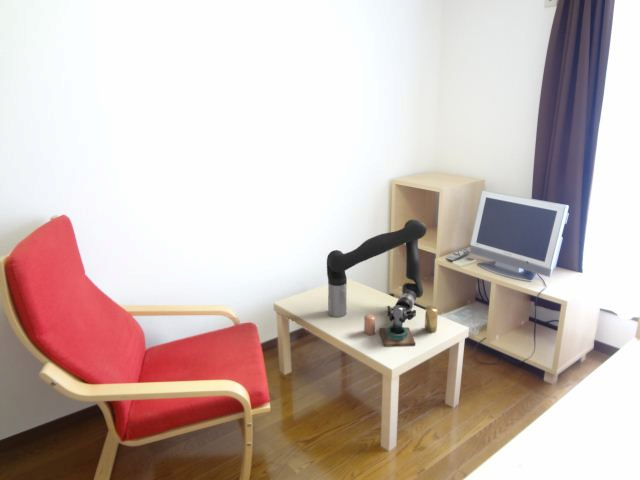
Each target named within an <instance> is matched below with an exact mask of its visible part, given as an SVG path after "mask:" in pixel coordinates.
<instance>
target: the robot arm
mask: <svg viewBox="0 0 640 480" xmlns="http://www.w3.org/2000/svg"><path fill="white" fill-rule="evenodd" d="M427 229H428V228H427V226H426V224H425V223H424V222H422V221H420V220H417V219H409V220H407V221H406V222H405V224H404V227H403V228H401V229H398V230H395V231H391V232H385V233H381V234H377V235H375V236H373V237H370V238H368V239H366V240H365V241H363V242H362V243H361V244H360V245H359V246H358V247H356V248H355V249H353V250H351V251H348V252H344V253H343V252H342V251H340V250H337V249H336V250H331V251H330V252H329V253H328V254H327V257H326V274H327V275H326V276H327V283H328V288H327V289H328V291H327V292H328V293H327V301H328V302H327V304H328V305H327V306H328V307H327V309H328V310H327V311H328V316H329V317H334V318H343V317H345V316H346V315H347V310H348V309H347V306H348V305H347V303H348V302H347V301H348V300H347V296H348V295H347V289H348V288H347V285H348V283H347V282H348V281H347V280H348V278H347V274H346V271H347V270H349V269H350V268H351V269H352V268H353V267H355V266H357V265H358V264H360V263H363V262H365V261H367V260H369V259H372V258H374V257H377V256H380V255H382V254H384V253H386V252H389V251H391V250H393V249H395V248H397V247H400V246H402V245H404V244H405V253H406V262H405V263H406V265H405V277H406V278H407V279H409V280H411V281H413V282H414V283H411V282H406V283H404V284H403V285H402V288H401V292H402V294H401V295H400V296H399V298H398V300H397V301H396V303H395V305H394V306H396V305H399V306H402V307H403V316H402V318H401V323H403V324H404V323H405V322H406V320H408V321H411V320H412V319H414V318H415V317H416V315H417V310H415V309H413V307H414V305H415V302H416V299H417V298H419V299H420V298H421V297H422V296H423V295H424V294H423V293H424V288H423V283H422V279H421V258H420V252H419V240H420V239H422V238H423V237H424V236H425V235H426V233H427ZM386 308H387V309H386V310H387V311H386V313H387V317H388V320H389V322H393V307H391V306H390V305H387V306H386ZM412 309H413V310H412Z"/></svg>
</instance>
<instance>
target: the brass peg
mask: <svg viewBox="0 0 640 480" xmlns="http://www.w3.org/2000/svg"><path fill="white" fill-rule="evenodd" d="M438 313H439V308H438V307H436V306H434V305H430V306H428V305H427V306H426V307H425V314H424V327H423V328H424V329H423V330H424V331H425V332H426V333H431V334H433V333H436V332H437V328H438V327H437V326H438V315H439V314H438Z"/></svg>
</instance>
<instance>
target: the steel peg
mask: <svg viewBox="0 0 640 480" xmlns="http://www.w3.org/2000/svg"><path fill="white" fill-rule="evenodd" d="M395 305H396V304H395ZM395 305H394V306H392V308H393V310H392V311H393V320H392V326H393V330H392V331H393V332H394V333H396V334H400V333H402V327H403V325H404V322H403V323H401V318H402V316H403V307H402V306H399V305H396V306H395Z"/></svg>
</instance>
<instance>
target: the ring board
mask: <svg viewBox="0 0 640 480" xmlns="http://www.w3.org/2000/svg"><path fill="white" fill-rule="evenodd" d="M392 330H393V325H390V326H389V327H379V329H378V331H379V334H380V338H381V341H382V344H383V347H407V346H409V347H410V346H416V341H415V338H414V337H413V334H412V331H411V330H410V327H409V326H406V327H404V326H402V333H400V334H396V333H394V332H393V331H392Z"/></svg>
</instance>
